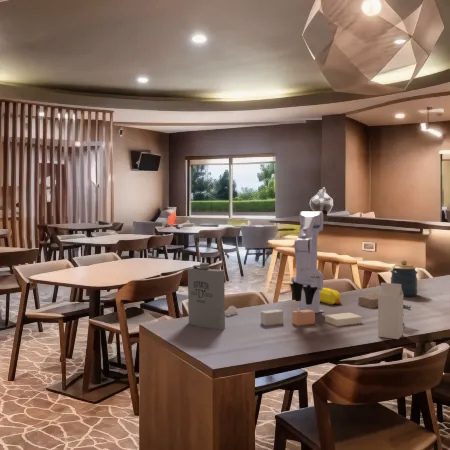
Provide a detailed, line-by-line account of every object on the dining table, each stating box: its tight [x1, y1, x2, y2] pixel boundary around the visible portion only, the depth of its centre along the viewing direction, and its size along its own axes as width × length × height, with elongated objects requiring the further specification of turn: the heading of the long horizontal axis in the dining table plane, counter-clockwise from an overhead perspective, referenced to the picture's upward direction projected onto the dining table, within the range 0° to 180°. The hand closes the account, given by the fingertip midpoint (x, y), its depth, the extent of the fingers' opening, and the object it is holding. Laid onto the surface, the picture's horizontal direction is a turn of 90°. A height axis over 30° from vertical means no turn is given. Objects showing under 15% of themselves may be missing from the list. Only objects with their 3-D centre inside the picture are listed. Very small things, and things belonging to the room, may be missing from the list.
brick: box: [357, 292, 379, 309], centre depth 233 cm, size 17×8×5 cm, turn 124°
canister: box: [390, 260, 418, 298], centre depth 255 cm, size 13×13×18 cm
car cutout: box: [225, 305, 239, 317], centre depth 213 cm, size 15×7×4 cm, turn 132°
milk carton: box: [377, 282, 404, 340], centre depth 179 cm, size 7×7×19 cm
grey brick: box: [260, 308, 284, 327], centre depth 200 cm, size 4×8×5 cm, turn 115°
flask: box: [187, 262, 226, 330], centre depth 197 cm, size 17×5×25 cm, turn 52°
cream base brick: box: [324, 312, 363, 327], centre depth 200 cm, size 8×12×3 cm, turn 112°
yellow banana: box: [320, 287, 342, 306], centre depth 240 cm, size 18×7×8 cm
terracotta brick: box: [291, 309, 316, 327], centre depth 199 cm, size 4×8×5 cm, turn 113°
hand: (303, 302), depth 199 cm, fingers open, 7 cm apart
